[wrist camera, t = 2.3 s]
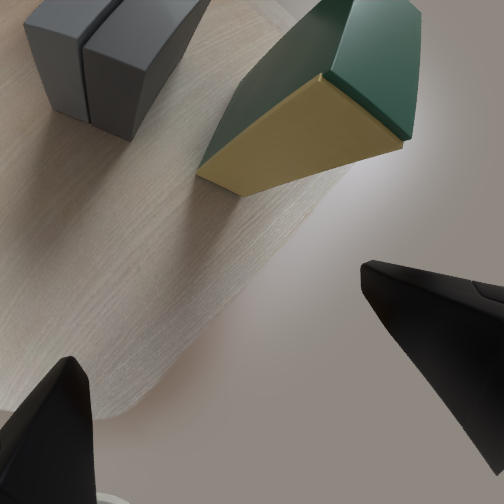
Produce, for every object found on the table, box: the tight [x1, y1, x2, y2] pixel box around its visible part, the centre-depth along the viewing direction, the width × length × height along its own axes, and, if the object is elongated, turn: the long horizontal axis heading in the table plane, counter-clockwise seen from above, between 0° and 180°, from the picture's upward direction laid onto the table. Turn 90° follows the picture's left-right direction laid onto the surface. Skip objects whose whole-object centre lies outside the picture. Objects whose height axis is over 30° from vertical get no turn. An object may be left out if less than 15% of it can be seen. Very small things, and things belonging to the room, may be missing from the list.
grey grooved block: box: [23, 0, 211, 142], centre depth 13 cm, size 8×6×10 cm
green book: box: [196, 0, 421, 197], centre depth 15 cm, size 8×4×14 cm, turn 158°
